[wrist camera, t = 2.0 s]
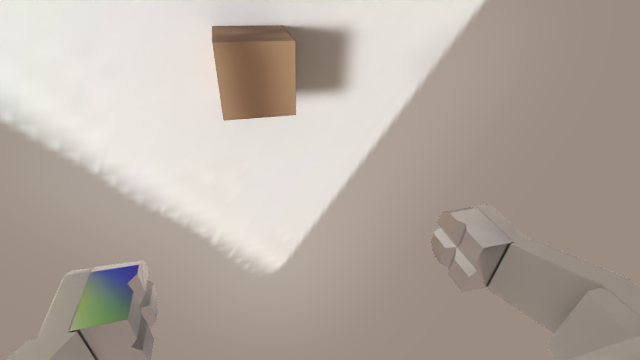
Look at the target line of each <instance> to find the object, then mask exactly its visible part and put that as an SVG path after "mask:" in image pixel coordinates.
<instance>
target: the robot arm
mask: <svg viewBox="0 0 640 360" xmlns="http://www.w3.org/2000/svg"><path fill="white" fill-rule="evenodd" d="M437 222H438V224H439V226H440V227H439V228H438V229H437V230H436V231H435V232H434V233H433V237H432V241H431V243H432V250H433V253H434V255H435V257H436V258H437V260H438V261H439V262H440V263H441V264H443V265H445V266H447V267H448V268H449V276H450V277H451V278H452V280H453V281H454V282H455V284H456V285H457V286H458V288H459V289H460V290H461V292H467V291H472V290H476V289H481V288H486V287H488V290H489V291H491V292H493V293H494V294H496V295H497V296H498V297H500V298H502V299H503V300H504V301H506V302H507V303H509V304H510V305H512V306H513V307H515V308H516V309H518V310H519V311H521V312H523V313H524V314H525V315H527V316H528V317H530V318H531V319H533V320H534V321H536V322H537V323H539V324H541V325H542V326H543V327H545V328H546V329H548V330H549V331H551V332H553V333H554V334H553V336H552V337H551V338H550V339H549V341H548V342H547V344H546V349H547V350H548V352H549V353H550V354H551V355H552V356H553V358H554V359H555V360H640V287H639V286H638V285H636V284H635V283H634V282H632V281H631V280H630V279H628V278H626V277H623V276H621V275H619V274H616V273H614V272H611V271H609V270H607V269H604V268H602V267H600V266H597V265H595V264H593V263H590V262H588V261H585V260H583V259H581V258H578V257H576V256H573V255H571V254H569V253H566V252H564V251H561V250H559V249H557V248H554V247H552V246H550V245H547V244H545V243H543V242H540V241H538V240H535V239H531V240H530V239H529V238H527V237H526V236H525V235H524V234H523V233H522V232H521V231H519V230H518V229H517V228H516V227H515V226H514V225H513V224H511V223H510V222H509V221H508V220H507V219H506V218H505V217H503V215H501V214H500V213H499V212H498V211H497V210H496V209H495V208H493V207H492V206H490V205H487V204H486V205H480V206H474V207H469V208H463V209H457V210H451V211H445V212H443V213H442V214H441V215H440V216H439V219H438V221H437ZM148 273H149V270H148V268H147V265H146V263H145V261H135V262H129V263H121V264H114V265H106V266H99V267H95V268H88V269H81V270H74V271H69V272H68V273H67V274H66V275H65V276H64V277H63V279H62V282H61V284H60V286H59V288H58V291H57V293H56V295H55V297H54V300H53V302H52V304H51V307H50V309H49V311H48V313H47V316H46V318H45V320H44V322H43V325H42V327H41V329H40V332H39V334H38V336H37V338H36V339H35V340H30V341H27V342H26V343H25V344H24V345H23V346H22V347H20V348H19V349H18V350H17V351H16V352H15V353H14V354H12V355H11V356H10V357H9V358H8V359H7V360H151V356H152V348H153V341H154V338H153V336H152V333H151V331H150V328H151V327H152V326H153V325H154V323H155V322H156V317H157V296H156V290H155V287H154V284H153V283H152V282H150V281H148V280H147V279H148Z"/></svg>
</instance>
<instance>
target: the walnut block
mask: <svg viewBox="0 0 640 360" xmlns="http://www.w3.org/2000/svg"><path fill="white" fill-rule="evenodd" d="M212 43H213V50H214V57H215V64H216V71H217V78H218V85H219V92H220V99H221V106H222V113H223V119H224V120H236V119H249V118H262V117H275V116H288V115H296V53H295V40H294V38H293V37H292V36H291V35H290V34H289V33H288V32H287V31H286V30H285V28H284V27H283V26H212Z"/></svg>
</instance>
